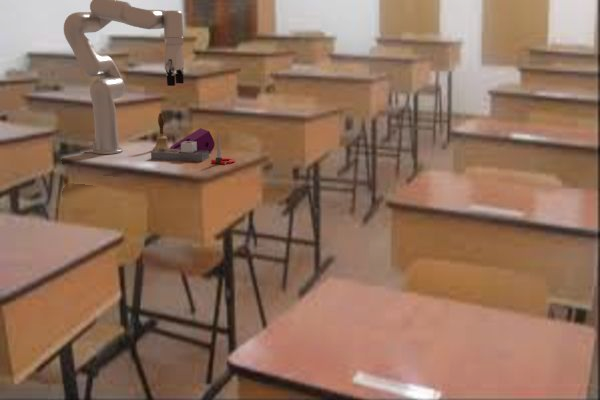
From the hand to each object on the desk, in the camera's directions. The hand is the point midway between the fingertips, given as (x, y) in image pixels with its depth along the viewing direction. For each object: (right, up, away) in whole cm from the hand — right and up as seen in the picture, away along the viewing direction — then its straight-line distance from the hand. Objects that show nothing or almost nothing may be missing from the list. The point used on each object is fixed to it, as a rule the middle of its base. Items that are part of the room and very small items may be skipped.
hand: (175, 84), depth 307 cm
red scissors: (+20, -32, -2) cm, 38 cm away
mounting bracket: (+4, -27, +18) cm, 33 cm away
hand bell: (-10, -25, +24) cm, 36 cm away
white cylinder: (+5, -30, +4) cm, 31 cm away
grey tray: (+1, -30, +4) cm, 31 cm away
